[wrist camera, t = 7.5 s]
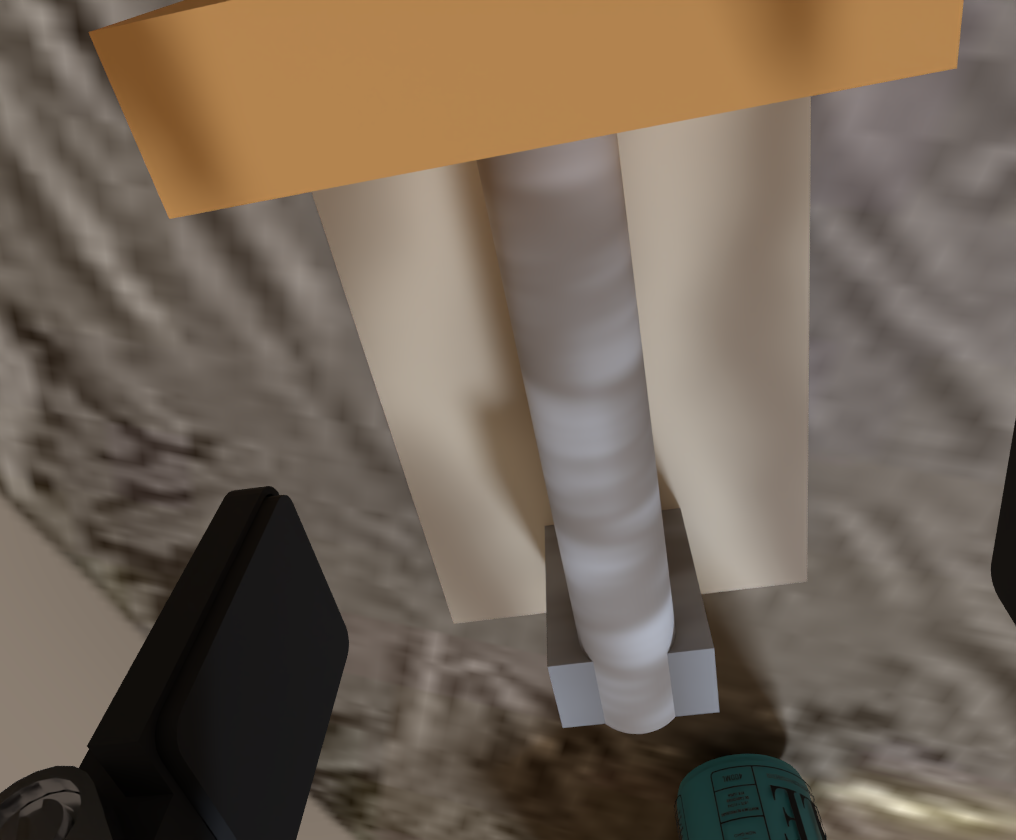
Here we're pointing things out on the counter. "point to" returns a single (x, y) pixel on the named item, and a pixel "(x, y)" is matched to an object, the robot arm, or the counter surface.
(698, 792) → the beverage bottle
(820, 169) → the counter surface
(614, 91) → the brown slab
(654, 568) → the pipe rig
